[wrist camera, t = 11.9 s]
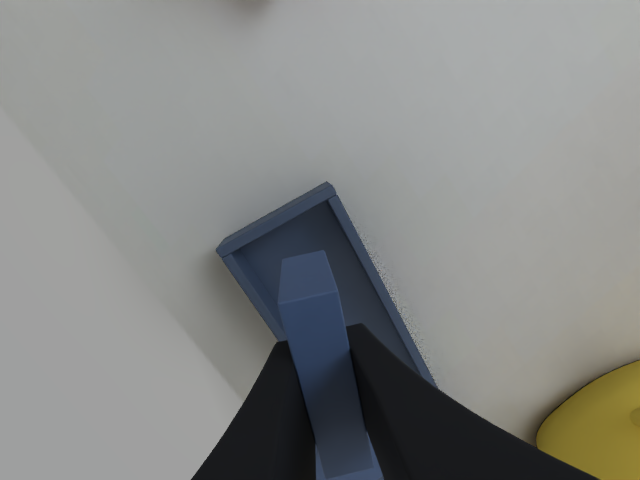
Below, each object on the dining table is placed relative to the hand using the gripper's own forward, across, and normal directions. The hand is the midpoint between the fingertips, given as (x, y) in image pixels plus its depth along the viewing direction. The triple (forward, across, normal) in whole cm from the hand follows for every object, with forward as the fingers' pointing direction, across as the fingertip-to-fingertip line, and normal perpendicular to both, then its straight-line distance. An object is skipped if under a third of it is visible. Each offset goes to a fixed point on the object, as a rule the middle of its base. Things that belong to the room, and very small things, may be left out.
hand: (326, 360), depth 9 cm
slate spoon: (+2, 0, +1) cm, 2 cm away
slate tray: (+7, -2, +8) cm, 11 cm away
